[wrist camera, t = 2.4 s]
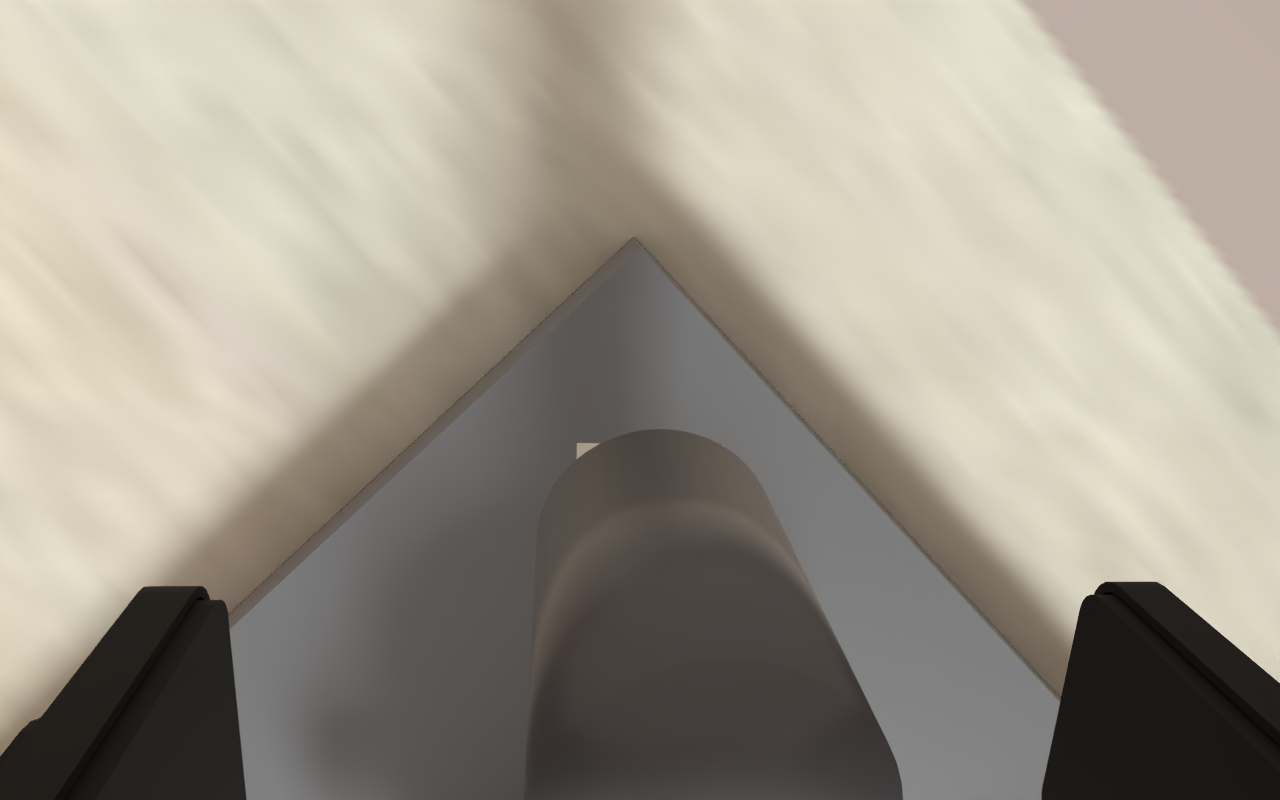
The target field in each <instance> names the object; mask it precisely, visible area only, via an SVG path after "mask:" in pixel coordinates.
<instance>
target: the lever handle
mask: <svg viewBox="0 0 1280 800" xmlns="http://www.w3.org/2000/svg"><path fill="white" fill-rule="evenodd" d="M523 800H903V792H902V782H901V778H900V774H899V769H898V765H897V762H896V760H895V757H894V755H893V753H892V750H891V748H890V746H889V743H888V741H887V739H886V737H885V735H884V733H883V731H882V729H881V727H880V725H879V723H878V721H877V719H876V717H875V715H874V713H873V711H872V709H871V707H870V705H869V703H868V701H867V699H866V697H865V695H864V693H863V691H862V689H861V687H860V684H859V682H858V680H857V678H856V676H855V674H854V672H853V670H852V668H851V666H850V664H849V662H848V660H847V658H846V656H845V654H844V652H843V650H842V648H841V646H840V644H839V642H838V640H837V638H836V636H835V634H834V632H833V630H832V628H831V625H830V623H829V621H828V619H827V617H826V615H825V613H824V611H823V609H822V607H821V605H820V603H819V601H818V599H817V597H816V595H815V593H814V591H813V589H812V587H811V585H810V583H809V581H808V579H807V577H806V575H805V573H804V571H803V569H802V567H801V564H800V562H799V560H798V558H797V556H796V554H795V552H794V550H793V548H792V546H791V544H790V542H789V540H788V538H787V536H786V534H785V532H784V530H783V528H782V526H781V524H780V522H779V520H778V518H777V516H776V514H775V512H774V510H773V508H772V505H771V503H770V501H769V499H768V497H767V495H766V493H765V491H764V489H763V487H762V486H761V484H760V482H759V481H758V479H757V477H756V476H755V474H754V473H753V472H752V471H751V470H750V468H749V467H748V466H747V465H746V464H745V463H744V462H743V461H742V460H741V459H740V458H739V457H738V456H736V455H735V454H734V453H733V452H731V451H730V450H728V449H727V448H725V447H724V445H720V444H718V443H716V442H714V441H712V440H710V439H708V438H705V437H702V436H700V435H697V434H694V433H689V432H684V431H679V430H668V429H652V430H642V431H636V432H630V433H627V434H624V435H620V436H617V437H614V438H612V439H609V440H607V441H605V442H603V443H577V457H576V460H575V461H574V462H573V463H572V464H571V465H570V466H569V467H568V468H567V469H566V470H565V471H564V472H563V473H562V475H561V476H560V477H559V479H558V480H557V481H556V483H555V484H554V486H553V487H552V489H551V491H550V493H549V495H548V496H547V498H546V501H545V503H544V506H543V508H542V511H541V515H540V519H539V523H538V531H537V544H536V564H535V583H534V603H533V622H532V642H531V661H530V681H529V700H528V720H527V739H526V759H525V778H524V798H523Z"/></svg>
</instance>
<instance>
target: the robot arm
mask: <svg viewBox="0 0 1280 800" xmlns="http://www.w3.org/2000/svg"><path fill="white" fill-rule="evenodd" d="M1041 797H1042V800H1280V683H1279V682H1277V681H1276V680H1275V679H1274V678H1273V677H1271V676H1270V675H1269V674H1268V673H1267V672H1266V671H1264V670H1263V669H1262V668H1261V667H1260V666H1258V665H1257V664H1256V663H1255V662H1254V661H1252V660H1251V659H1250V658H1249V657H1248V656H1247V655H1245V654H1244V653H1243V652H1242V651H1241V650H1239V649H1238V648H1237V647H1236V646H1235V645H1233V644H1232V643H1231V642H1230V641H1229V640H1228V639H1226V638H1225V637H1224V636H1223V635H1222V634H1220V633H1219V632H1218V631H1217V630H1216V629H1214V628H1213V627H1212V626H1211V625H1210V624H1209V623H1207V622H1206V621H1205V620H1204V619H1203V618H1201V617H1200V616H1199V615H1198V614H1197V613H1195V612H1194V611H1193V610H1192V609H1191V608H1190V607H1188V606H1187V605H1186V604H1185V603H1184V602H1182V601H1181V600H1180V599H1179V598H1178V597H1176V596H1175V595H1174V594H1173V593H1172V592H1171V591H1169V590H1168V589H1167V588H1166V587H1165V586H1163V585H1161V584H1159V583H1158V582H1105V583H1103V584H1101V585H1100V586H1099V587H1098V588H1097V590H1096V591H1095V593H1094V595H1089V596H1087V597H1086V598H1085V599H1084V600H1083V602H1082V605H1081V607H1080V611H1079V616H1078V621H1077V626H1076V630H1075V635H1074V640H1073V644H1072V649H1071V654H1070V659H1069V663H1068V668H1067V673H1066V677H1065V682H1064V687H1063V692H1062V696H1061V701H1060V706H1059V710H1058V715H1057V720H1056V725H1055V729H1054V734H1053V739H1052V744H1051V748H1050V753H1049V758H1048V762H1047V767H1046V772H1045V777H1044V781H1043V786H1042V794H1041ZM0 800H247V799H246V789H245V779H244V769H243V759H242V749H241V739H240V729H239V719H238V709H237V699H236V689H235V679H234V669H233V659H232V649H231V639H230V629H229V619H228V612H227V607H226V604H225V602H224V601H222V600H210V598H209V595H208V593H207V590H206V589H205V588H204V587H203V586H154V587H143V588H142V589H141V590H140V591H139V592H138V593H137V594H136V596H135V597H134V598H133V600H132V601H131V602H130V603H129V605H128V606H127V607H126V609H125V610H124V611H123V612H122V614H121V615H120V616H119V618H118V619H117V620H116V621H115V623H114V624H113V625H112V627H111V628H110V629H109V630H108V632H107V633H106V634H105V636H104V637H103V638H102V640H101V641H100V642H99V643H98V645H97V646H96V647H95V649H94V650H93V651H92V652H91V654H90V655H89V656H88V658H87V659H86V660H85V661H84V663H83V664H82V665H81V667H80V668H79V669H78V670H77V672H76V673H75V674H74V676H73V677H72V678H71V679H70V681H69V682H68V683H67V685H66V686H65V687H64V689H63V690H62V691H61V692H60V694H59V695H58V696H57V698H56V699H55V700H54V701H53V703H52V704H51V705H50V707H49V708H48V709H47V710H46V712H45V713H44V714H43V716H42V717H41V718H39V719H36V720H33V721H31V722H30V723H29V724H28V725H27V726H26V727H25V728H23V729H22V730H21V731H20V732H19V734H18V735H17V736H16V737H15V739H14V740H13V741H12V743H11V744H10V745H9V746H8V748H7V749H6V750H5V751H4V753H3V754H2V755H1V756H0Z"/></svg>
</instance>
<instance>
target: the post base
mask: <svg viewBox="0 0 1280 800" xmlns="http://www.w3.org/2000/svg"><path fill="white" fill-rule="evenodd" d="M652 429H668V430H679V431H684V432H689V433H694V434H697V435H700V436H702V437H705V438H708V439H710V440H712V441H714V442H716V443H718V444H720V445H724V447H725V448H727V449H728V450H730V451H731V452H733V453H734V454H735V455H736V456H738V457H739V458H740V459H741V460H742V461H743V462H744V463H745V464H746V465H747V466H748V467H749V468H750V470H751V471H752V472H753V473H754V474H755V476H756V477H757V479H758V481H759V482H760V484H761V486H762V487H763V489H764V491H765V493H766V495H767V497H768V499H769V501H770V503H771V505H772V508H773V510H774V512H775V514H776V516H777V518H778V520H779V522H780V524H781V526H782V528H783V530H784V532H785V534H786V536H787V538H788V540H789V542H790V544H791V546H792V548H793V550H794V552H795V554H796V556H797V558H798V560H799V562H800V564H801V567H802V569H803V571H804V573H805V575H806V577H807V579H808V581H809V583H810V585H811V587H812V589H813V591H814V593H815V595H816V597H817V599H818V601H819V603H820V605H821V607H822V609H823V611H824V613H825V615H826V617H827V619H828V621H829V623H830V625H831V628H832V630H833V632H834V634H835V636H836V638H837V640H838V642H839V644H840V646H841V648H842V650H843V652H844V654H845V656H846V658H847V660H848V662H849V664H850V666H851V668H852V670H853V672H854V674H855V676H856V678H857V680H858V682H859V684H860V687H861V689H862V691H863V693H864V695H865V697H866V699H867V701H868V703H869V705H870V707H871V709H872V711H873V713H874V715H875V717H876V719H877V721H878V723H879V725H880V727H881V729H882V731H883V733H884V735H885V737H886V739H887V741H888V743H889V746H890V748H891V750H892V753H893V755H894V757H895V760H896V762H897V765H898V769H899V774H900V778H901V782H902V792H903V800H1042V797H1041V794H1042V786H1043V781H1044V777H1045V772H1046V767H1047V762H1048V758H1049V753H1050V748H1051V744H1052V739H1053V734H1054V729H1055V725H1056V720H1057V715H1058V710H1059V706H1060V701H1061V698H1060V697H1059V696H1058V695H1057V694H1056V693H1055V692H1054V691H1053V690H1052V689H1051V687H1050V686H1049V685H1048V684H1047V683H1046V682H1045V681H1044V680H1043V679H1042V678H1041V677H1040V676H1039V674H1038V673H1037V672H1036V671H1035V670H1034V669H1033V668H1032V667H1031V666H1030V665H1029V664H1028V663H1027V661H1026V660H1025V659H1024V658H1023V657H1022V656H1021V655H1020V654H1019V653H1018V652H1017V651H1016V650H1015V648H1014V647H1013V646H1012V645H1011V644H1010V643H1009V642H1008V641H1007V640H1006V639H1005V638H1004V637H1003V635H1002V634H1001V633H1000V632H999V631H998V630H997V629H996V628H995V627H994V626H993V625H992V624H991V622H990V621H989V620H988V619H987V618H986V617H985V616H984V615H983V614H982V613H981V612H980V611H979V609H978V608H977V607H976V606H975V605H974V604H973V603H972V602H971V601H970V600H969V599H968V598H967V596H966V595H965V594H964V593H963V592H962V591H961V590H960V589H959V588H958V587H957V586H956V585H955V583H954V582H953V581H952V580H951V579H950V578H949V577H948V576H947V575H946V574H945V573H944V572H943V570H942V569H941V568H940V567H939V566H938V565H937V564H936V563H935V562H934V561H933V560H932V559H931V557H930V556H929V555H928V554H927V553H926V552H925V551H924V550H923V549H922V548H921V547H920V546H919V544H918V543H917V542H916V541H915V540H914V539H913V538H912V537H911V536H910V535H909V534H908V533H907V531H906V530H905V529H904V528H903V527H902V526H901V525H900V524H899V523H898V522H897V521H896V520H895V518H894V517H893V516H892V515H891V514H890V513H889V512H888V511H887V510H886V509H885V508H884V507H883V505H882V504H881V503H880V502H879V501H878V500H877V499H876V498H875V497H874V496H873V495H872V494H871V492H870V491H869V490H868V489H867V488H866V487H865V486H864V485H863V484H862V483H861V482H860V481H859V479H858V478H857V477H856V476H855V475H854V474H853V473H852V472H851V471H850V470H849V469H848V468H847V466H846V465H845V464H844V463H843V462H842V461H841V460H840V459H839V458H838V457H837V456H836V455H835V453H834V452H833V451H832V450H831V449H830V448H829V447H828V446H827V445H826V444H825V443H824V442H823V440H822V439H821V438H820V437H819V436H818V435H817V434H816V433H815V432H814V431H813V430H812V429H811V427H810V426H809V425H808V424H807V423H806V422H805V421H804V420H803V419H802V418H801V417H800V416H799V414H798V413H797V412H796V411H795V410H794V409H793V408H792V407H791V406H790V405H789V404H788V403H787V401H786V400H785V399H784V398H783V397H782V396H781V395H780V394H779V393H778V392H777V391H776V390H775V388H774V387H773V386H772V385H771V384H770V383H769V382H768V381H767V380H766V379H765V378H764V377H763V375H762V374H761V373H760V372H759V371H758V370H757V369H756V368H755V367H754V366H753V365H752V364H751V362H750V361H749V360H748V359H747V358H746V357H745V356H744V355H743V354H742V353H741V352H740V351H739V349H738V348H737V347H736V346H735V345H734V344H733V343H732V342H731V341H730V340H729V339H728V338H727V336H726V335H725V334H724V333H723V332H722V331H721V330H720V329H719V328H718V327H717V326H716V325H715V323H714V322H713V321H712V320H711V319H710V318H709V317H708V316H707V315H706V314H705V313H704V312H703V310H702V309H701V308H700V307H699V306H698V305H697V304H696V303H695V302H694V301H693V300H692V299H691V297H690V296H689V295H688V294H687V293H686V292H685V291H684V290H683V289H682V288H681V287H680V286H679V284H678V283H677V282H676V281H675V280H674V279H673V278H672V277H671V276H670V275H669V274H668V273H667V271H666V270H665V269H664V268H663V267H662V266H661V265H660V264H659V263H658V262H657V261H656V260H655V258H654V257H653V256H652V255H651V254H650V253H649V252H648V251H647V250H646V249H645V248H644V247H643V245H642V244H641V243H640V242H639V241H638V240H637V239H636V238H635V237H633V238H632V239H631V240H630V241H629V242H628V243H627V244H626V245H625V246H624V247H622V248H621V249H620V250H619V251H618V252H617V253H616V254H615V255H614V256H613V257H612V258H611V259H610V260H609V261H607V262H606V263H605V264H604V265H603V266H602V267H601V268H600V269H599V270H598V271H597V272H596V273H595V274H594V275H592V276H591V277H590V278H589V279H588V280H587V281H586V282H585V283H584V284H583V285H582V286H581V287H580V288H579V289H577V290H576V291H575V292H574V293H573V294H572V295H571V296H570V297H569V298H568V299H567V300H566V301H565V302H564V303H562V304H561V305H560V306H559V307H558V308H557V309H556V310H555V311H554V312H553V313H552V314H551V315H550V316H549V317H547V318H546V319H545V320H544V321H543V322H542V323H541V324H540V325H539V326H538V327H537V328H536V329H535V330H533V331H532V332H531V333H530V334H529V335H528V336H527V337H526V338H525V339H524V340H523V341H522V342H521V343H520V344H518V345H517V346H516V347H515V348H514V349H513V350H512V351H511V352H510V353H509V354H508V355H507V356H506V357H505V358H503V359H502V360H501V361H500V362H499V363H498V364H497V365H496V366H495V367H494V368H493V369H492V370H491V371H490V372H488V373H487V374H486V375H485V376H484V377H483V378H482V379H481V380H480V381H479V382H478V383H477V384H476V385H475V386H473V387H472V388H471V389H470V390H469V391H468V392H467V393H466V394H465V395H464V396H463V397H462V398H461V399H460V400H458V401H457V402H456V403H455V404H454V405H453V406H452V407H451V408H450V409H449V410H448V411H447V412H446V413H444V414H443V415H442V416H441V417H440V418H439V419H438V420H437V421H436V422H435V423H434V424H433V425H432V426H431V427H429V428H428V429H427V430H426V431H425V432H424V433H423V434H422V435H421V436H420V437H419V438H418V439H417V440H416V441H414V442H413V443H412V444H411V445H410V446H409V447H408V448H407V449H406V450H405V451H404V452H403V453H402V454H401V455H399V456H398V457H397V458H396V459H395V460H394V461H393V462H392V463H391V464H390V465H389V466H388V467H387V468H386V469H384V470H383V471H382V472H381V473H380V474H379V475H378V476H377V477H376V478H375V479H374V480H373V481H372V482H370V483H369V484H368V485H367V486H366V487H365V488H364V489H363V490H362V491H361V492H360V493H359V494H358V495H357V496H355V497H354V498H353V499H352V500H351V501H350V502H349V503H348V504H347V505H346V506H345V507H344V508H343V509H342V510H340V511H339V512H338V513H337V514H336V515H335V516H334V517H333V518H332V519H331V520H330V521H329V522H328V523H327V524H325V525H324V526H323V527H322V528H321V529H320V530H319V531H318V532H317V533H316V534H315V535H314V536H313V537H312V538H310V539H309V540H308V541H307V542H306V543H305V544H304V545H303V546H302V547H301V548H300V549H299V550H298V551H297V552H295V553H294V554H293V555H292V556H291V557H290V558H289V559H288V560H287V561H286V562H285V563H284V564H283V565H281V566H280V567H279V568H278V569H277V570H276V571H275V572H274V573H273V574H272V575H271V576H270V577H269V578H268V579H266V580H265V581H264V582H263V583H262V584H261V585H260V586H259V587H258V588H257V589H256V590H255V591H254V592H253V593H251V594H250V595H249V596H248V597H247V598H246V599H245V600H244V601H243V602H242V603H241V604H240V605H239V606H238V607H236V608H235V609H234V610H233V611H232V612H231V613H230V614H229V615H228V619H229V629H230V639H231V649H232V659H233V669H234V679H235V689H236V699H237V709H238V719H239V729H240V739H241V749H242V759H243V769H244V779H245V789H246V799H247V800H523V798H524V778H525V759H526V739H527V720H528V700H529V681H530V661H531V642H532V622H533V603H534V583H535V564H536V544H537V531H538V523H539V519H540V515H541V511H542V508H543V506H544V503H545V501H546V498H547V496H548V495H549V493H550V491H551V489H552V487H553V486H554V484H555V483H556V481H557V480H558V479H559V477H560V476H561V475H562V473H563V472H564V471H565V470H566V469H567V468H568V467H569V466H570V465H571V464H572V463H573V462H574V461H575V460H576V457H577V443H603V442H605V441H607V440H609V439H612V438H614V437H617V436H620V435H624V434H627V433H630V432H636V431H642V430H652Z"/></svg>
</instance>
